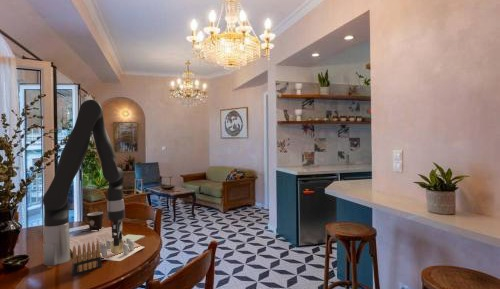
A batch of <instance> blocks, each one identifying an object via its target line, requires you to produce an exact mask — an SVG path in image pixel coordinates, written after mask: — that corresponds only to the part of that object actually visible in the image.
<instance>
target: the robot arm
mask: <svg viewBox="0 0 500 289" xmlns="http://www.w3.org/2000/svg"><path fill="white" fill-rule="evenodd" d="M91 135H93V139H94V144H95V149H96V151H97V154H98V158H99V160H100V165H101V171H102V175H103V178H104V180H105V181H106V182H107V183H108V187H107V191H106V200H107V204H106V207H107V208H106V209H107V210H106V211H107V220H108V221H109V222H110V221H111V222H113V223H111V227H110V228H111V239H113V241H114V246H119V240H122V237H123V228H124V226H123V220H124V219H125V218H126V210H125V209H126V208H125V207H126V206H125V201H124V190H123V189H124V178H125V176H124V171H123V169H122V168H121V167H120V166H118V165H117V162H116V161H117V155H116V152H115V149H114V147H113V143H112V141H111V139H110V136H109V133H108V131H107V128H106V123H105V118H104V109H103V107H102V105H101V103H100V102H99V101H97V100H95V99H87V100H85V101H83V102H82V103H81V104H80V106H79V109H78V113H77V117H76V121H75V123H74V126H73V128H72V130H71V132H70V134H69V136H68V138H67V140H66V142H65V144H64V146H63V149H62V151H61V154H60V156H59V159H58V162H57V166H56V169H55V174H54V177H53V179H52V181H51V182H50V185H49V187H48V188H47V190H46V191H45V193H44V195H43V196H42V203H43V207H44V218H43V220H44V221H43V224H44V243H43V244H42V250H43V252H42V254H43V265H44V266H49V267H50V266H52V267H56V266H58V265H61V264H64V263H67V262H69V261H70V260H71V245H70V220H69V217H70V213H69V194H70V190H71V187H72V184H73V182H74V179H75V177H76V176H77V174H78V172H79V170H80V169H81V167H82V164H83V162H84V160H85V158H86V156H87V155H86V154H87V152H88V149H89V146H90V140H91Z"/></svg>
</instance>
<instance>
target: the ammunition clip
mask: <svg viewBox="0 0 500 289" xmlns="http://www.w3.org/2000/svg"><path fill="white" fill-rule="evenodd" d="M91 255H92V257H91ZM71 259H72V264H71V265H72V267H71V268H72V269H71V270H72V272H71V275H72V277H76V276H77V277H78V276H80V275H83V274H86V273H91V272H92V271H94V270H96V269H100V268H102V266H103V265H102V259H101V255H100V241H99V240H97V241H96V244H95V241H92V244H90V242H87V246H86V244H85V243H83V244H82V247H81V245H80V244H78V246H77V248H76V246H75V245H74V246H73V247H72V258H71Z"/></svg>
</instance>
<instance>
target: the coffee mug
mask: <svg viewBox="0 0 500 289" xmlns="http://www.w3.org/2000/svg"><path fill="white" fill-rule="evenodd" d="M85 217H86V218H87V221H88V222H87V221H85ZM103 217H104V212H103V211H95V212H91V213H90V212H89V213H87V214H86V215H84V216H83V218H82V220H83V222H84V224H87V225H88V227H89V228H88V229H89V231H90V230H99V229H101V228H102V229H103V220H104V218H103Z"/></svg>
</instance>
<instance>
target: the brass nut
mask: <svg viewBox="0 0 500 289" xmlns="http://www.w3.org/2000/svg"><path fill="white" fill-rule="evenodd" d="M124 243H125V242H123V240H119V246H114V240H111V242H110V245H111V252H112V253H120V252H122V251H123V245H124Z"/></svg>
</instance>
